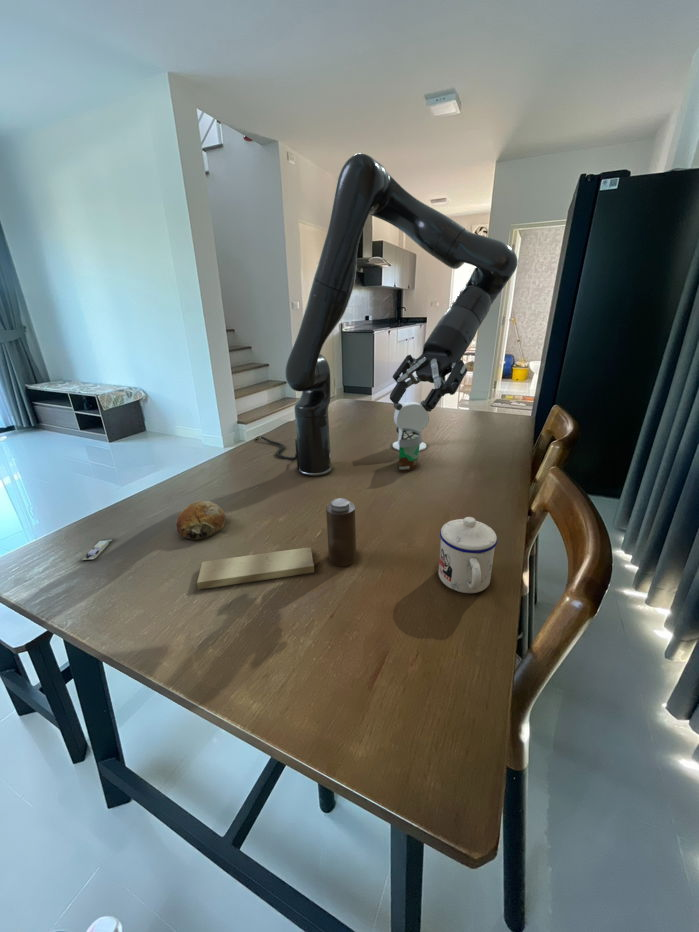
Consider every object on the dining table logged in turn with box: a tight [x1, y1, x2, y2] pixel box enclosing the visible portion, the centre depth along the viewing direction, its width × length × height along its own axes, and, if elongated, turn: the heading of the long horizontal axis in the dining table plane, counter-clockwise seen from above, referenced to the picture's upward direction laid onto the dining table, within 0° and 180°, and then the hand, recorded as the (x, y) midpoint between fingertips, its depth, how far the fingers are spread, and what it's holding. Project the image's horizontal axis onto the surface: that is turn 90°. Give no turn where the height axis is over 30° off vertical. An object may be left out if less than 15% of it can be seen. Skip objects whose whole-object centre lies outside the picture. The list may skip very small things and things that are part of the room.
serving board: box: [196, 546, 315, 590], centre depth 70 cm, size 20×6×2 cm, turn 101°
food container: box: [398, 428, 423, 473], centre depth 112 cm, size 12×6×10 cm, turn 168°
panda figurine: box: [392, 399, 430, 452], centre depth 127 cm, size 12×11×15 cm
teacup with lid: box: [438, 516, 498, 594], centre depth 63 cm, size 12×9×12 cm
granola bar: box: [81, 539, 112, 561], centre depth 77 cm, size 7×2×1 cm, turn 3°
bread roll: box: [176, 500, 226, 541], centre depth 83 cm, size 10×10×8 cm
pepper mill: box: [325, 497, 357, 568], centre depth 70 cm, size 5×5×12 cm
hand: (408, 405), depth 72 cm, fingers open, 8 cm apart
